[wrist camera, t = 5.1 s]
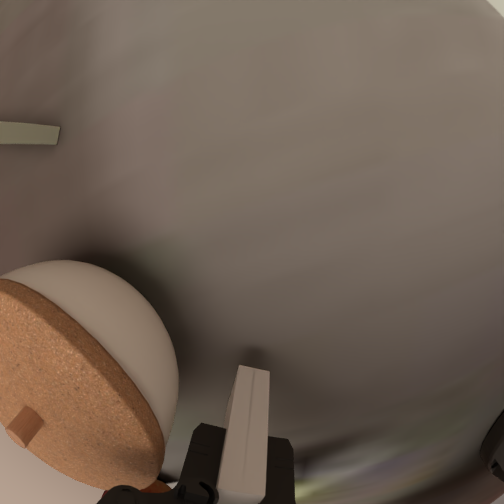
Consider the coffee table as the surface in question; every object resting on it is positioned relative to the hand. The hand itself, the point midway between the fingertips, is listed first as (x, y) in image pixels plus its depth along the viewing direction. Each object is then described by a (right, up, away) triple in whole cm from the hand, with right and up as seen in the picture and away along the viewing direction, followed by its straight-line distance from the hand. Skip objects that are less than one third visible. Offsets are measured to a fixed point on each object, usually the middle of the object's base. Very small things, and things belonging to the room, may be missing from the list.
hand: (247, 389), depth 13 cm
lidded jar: (-8, +2, +2) cm, 8 cm away
